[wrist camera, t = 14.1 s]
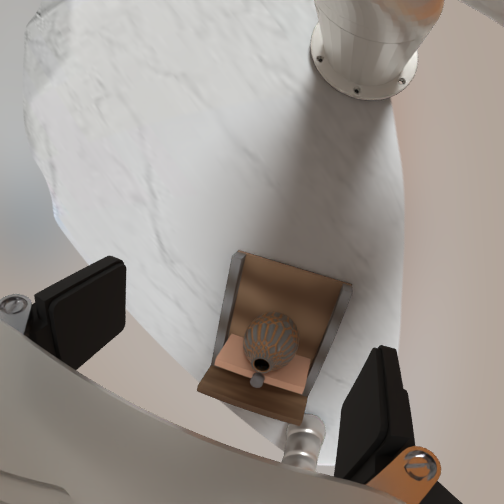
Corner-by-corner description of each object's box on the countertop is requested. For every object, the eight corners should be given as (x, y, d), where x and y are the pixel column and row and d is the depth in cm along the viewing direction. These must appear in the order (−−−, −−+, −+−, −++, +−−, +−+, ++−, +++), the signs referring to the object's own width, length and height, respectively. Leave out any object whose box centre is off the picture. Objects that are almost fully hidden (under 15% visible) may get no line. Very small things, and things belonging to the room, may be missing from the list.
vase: (263, 351, 44) (246, 391, 36) (244, 311, 43) (222, 346, 34) (309, 342, 41) (299, 383, 33) (292, 298, 40) (278, 334, 32)
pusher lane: (238, 250, 41) (216, 270, 34) (351, 284, 38) (353, 312, 31) (216, 361, 47) (197, 391, 40) (307, 391, 45) (299, 426, 38)
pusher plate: (231, 332, 44) (212, 362, 37) (311, 357, 42) (303, 393, 35) (229, 340, 45) (210, 371, 38) (307, 366, 42) (299, 401, 36)
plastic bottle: (326, 408, 45) (308, 514, 27) (327, 434, 47) (309, 532, 28) (287, 408, 47) (255, 509, 28) (291, 433, 49) (263, 527, 30)
